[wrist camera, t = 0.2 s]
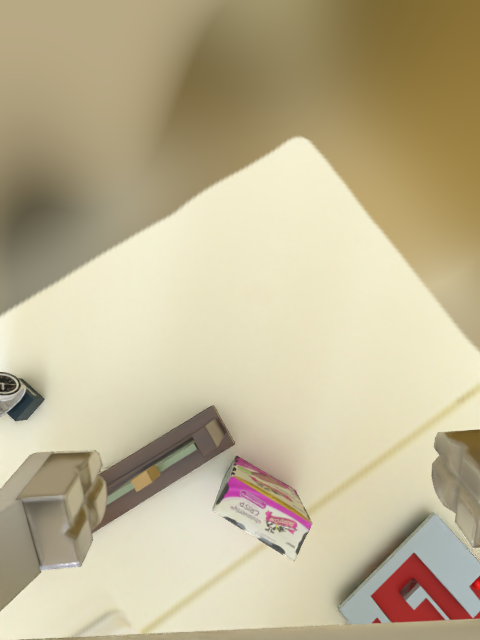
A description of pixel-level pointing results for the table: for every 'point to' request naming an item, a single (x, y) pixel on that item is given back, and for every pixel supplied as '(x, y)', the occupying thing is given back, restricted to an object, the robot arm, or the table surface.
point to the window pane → (152, 472)
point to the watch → (17, 397)
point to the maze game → (420, 581)
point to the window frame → (200, 428)
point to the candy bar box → (263, 508)
